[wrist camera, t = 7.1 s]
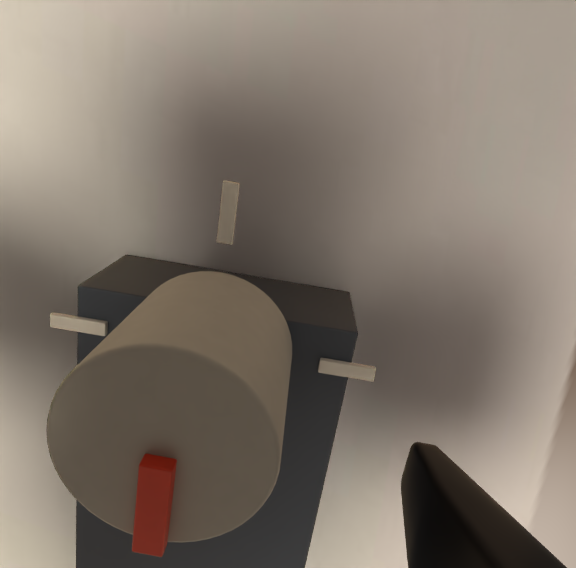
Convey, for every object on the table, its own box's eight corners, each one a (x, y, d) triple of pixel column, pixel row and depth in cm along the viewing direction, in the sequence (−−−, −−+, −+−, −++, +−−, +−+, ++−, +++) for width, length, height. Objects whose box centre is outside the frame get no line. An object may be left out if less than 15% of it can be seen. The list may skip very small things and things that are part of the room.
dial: (139, 256, 11) (32, 331, 7) (306, 286, 11) (300, 381, 7) (129, 399, 12) (34, 536, 8) (278, 426, 12) (258, 578, 8)
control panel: (109, 147, 13) (47, 151, 10) (392, 194, 13) (415, 213, 10) (95, 646, 20) (56, 737, 17) (281, 678, 20) (274, 775, 17)
